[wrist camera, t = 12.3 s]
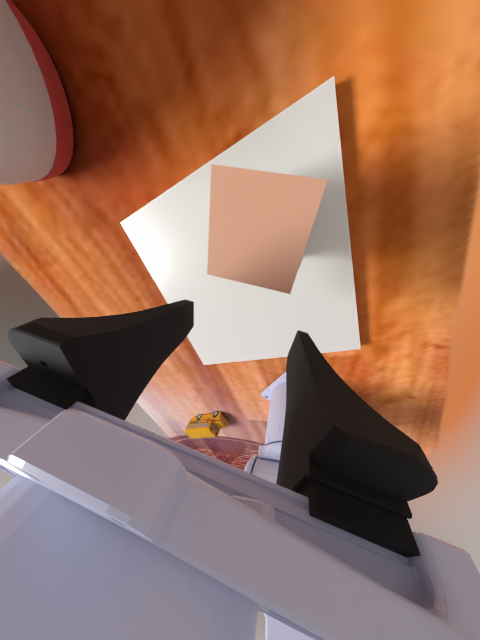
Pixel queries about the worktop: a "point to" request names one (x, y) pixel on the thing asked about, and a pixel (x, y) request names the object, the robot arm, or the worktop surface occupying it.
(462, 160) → the worktop surface
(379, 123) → the worktop surface
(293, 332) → the baseplate
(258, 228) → the terracotta brick
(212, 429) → the toy bus
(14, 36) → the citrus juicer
